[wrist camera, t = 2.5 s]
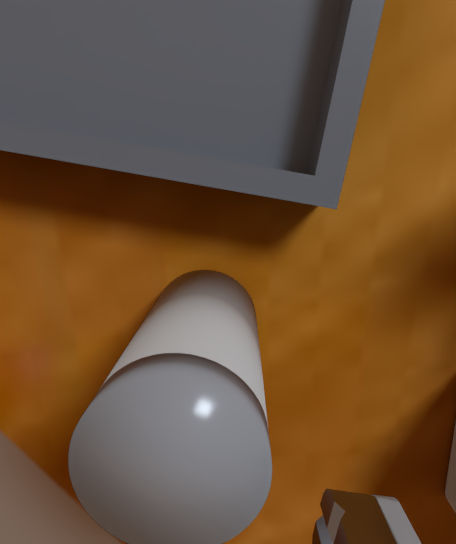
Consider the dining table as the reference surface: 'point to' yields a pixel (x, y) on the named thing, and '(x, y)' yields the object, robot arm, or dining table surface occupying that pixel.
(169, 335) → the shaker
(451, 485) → the medicine bottle
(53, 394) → the dining table surface
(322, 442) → the dining table surface
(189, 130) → the tray
